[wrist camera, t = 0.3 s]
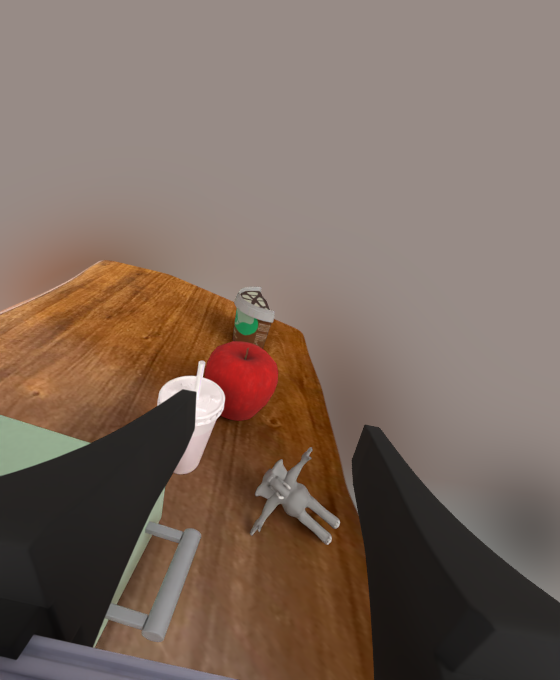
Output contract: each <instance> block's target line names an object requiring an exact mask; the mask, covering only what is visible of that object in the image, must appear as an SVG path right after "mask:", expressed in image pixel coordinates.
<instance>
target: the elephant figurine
mask: <svg viewBox="0 0 560 680" xmlns="http://www.w3.org/2000/svg"><path fill="white" fill-rule="evenodd" d="M311 451H312V448H309V449H308V451H306V452H305V453H304V454H303V455H302V459H301V461H300V462H299V463H298V464H297V465H296V466H294V467H293V468H292V469H291V470H290V471H288V472H287V471H286V469H285V467H284V466H283V461H282V459H281V460H279V461H278V462H276V464H275V465H274V467H273V468H272V469H269V470H268V471H267V472H266V473H265V475H264V477H263V481H262V483H261V484H260V485H259V487H258V488H257V490H256V492H255V496H262V497H265V498H267V502H266V504H265V506H264V509H263V511H262V514H261V516H260V517H259V519H257V520H256V521H255V523H254V526H253V528H252V529H251V531H250V535H253V534H254V532H255V531H256V530H257V529H258V531H259V532H260V530H261V527H262V525H263V523H264V521H265V520H266V518H267V517H268V516H269V515H270V514H271V513H272V512H273V510H274V509H275V508H276V506H277V505H279V504H282V506H283V508H284V510H285V512H286V513H287V514H288V515H290V516H293V517H296V518H298V520H299V521H300V522H302V523H303V524H304V525H305V526H307V527H308V528H309V529H310V530H312V531H313V532H314V533H315V534H316V535H317V536H318V537H319V538H320V539H321V540H322V541H323V542H324V543H325V544H327V545H328V544H329V543H330V542H331V539H332V537H331V534H330V533H329V532H327V531H326V530H325V529H324V528H323V527H322V526H320V525H319V524H318V523H317V522H316V521H315V520H314V519H313V518H312V517H311V516H310V515H309V514H308V513H307V512H306V511H305V508H306V507H309V508H310V509H311V510H313V511H314V512H315V513H316V514H318V515H319V516H320V517H321V518H322V519H323V520H325V521H326V522H327V523H328V524H329V525H330V526H331V527H332V528H334V529H336V528H337V527H339V524H340V521H339V519H338V518H337V517H336V516H334V515H333V514H332V513H330V512H329V511H327V510H326V509H325V508H324V507H323V506H322V505H321V504H319V503H318V502H317V501H316V500H315V499H314V498H313V497H312V496H310V494H309V492H308V490H307V488H306V487H305V486H304V485H302V484H300V483H297V482H296V479H297V477H298V475H299V473H300V471H301V469H302V467H303V465H304V464H305V463H306V462H307V461H308V460H310V459H311V457H309V454H310V453H311Z"/></svg>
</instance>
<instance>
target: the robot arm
mask: <svg viewBox="0 0 560 680" xmlns="http://www.w3.org/2000/svg"><path fill="white" fill-rule="evenodd" d="M196 395H197V392H195V391H190V390H185V389H182V390H181V391H179V392H177V393H176V394H174V395H173V396H171V397H170V398H168V399H167V400H165V401H164V402H163V403H161V404H160V405H158V406H157V407H155V408H153V409H152V410H150V411H149V412H147V413H146V414H144V415H142V416H141V417H139V418H138V419H136V420H134V421H132V422H131V423H129V424H127V425H125V426H124V427H122V428H120V429H118V430H117V431H115V432H113V433H111V434H109V435H107V436H105V437H103V438H101V439H99V440H96V441H94V442H92V443H90V444H88V445H85V446H83V447H81V448H78V449H76V450H73V451H71V452H69V453H66V454H64V455H61V456H59V457H56V458H53V459H51V460H48V461H45V462H42V463H40V464H37V465H34V466H31V467H28V468H25V469H22V470H19V471H15V472H12V473H9V474H5V475H2V476H0V680H238V679H233V678H228V677H224V676H219V675H215V674H210V673H206V672H201V671H197V670H192V669H188V668H183V667H178V666H174V665H169V664H165V663H160V662H156V661H151V660H147V659H142V658H138V657H133V656H128V655H124V654H119V653H115V652H110V651H106V650H101V649H97V648H93V646H94V644H95V641H96V639H97V636H98V634H99V631H100V629H101V626H102V624H103V621H104V619H105V616H106V614H107V611H108V609H109V606H110V604H111V601H112V599H113V597H114V594H115V592H116V590H117V587H118V585H119V583H120V580H121V578H122V575H123V573H124V571H125V568H126V566H127V564H128V562H129V559H130V557H131V555H132V553H133V550H134V548H135V546H136V544H137V541H138V539H139V537H140V535H141V533H142V530H143V528H144V526H145V524H146V522H147V520H148V517H149V515H150V513H151V511H152V509H153V507H154V505H155V503H156V502H157V500H158V498H159V496H160V495H161V493H162V491H163V489H164V488H165V486H166V484H167V482H168V481H169V479H170V477H171V476H172V474H173V472H174V470H175V469H176V467H177V465H178V463H179V462H180V460H181V458H182V456H183V455H184V453H185V451H186V449H187V447H188V444H189V442H190V440H191V437H192V435H193V432H194V430H195V416H196ZM352 475H353V486H354V492H355V497H356V502H357V508H358V514H359V519H360V524H361V530H362V535H363V540H364V547H365V553H366V563H367V573H368V584H369V597H370V610H371V624H372V642H373V660H374V680H560V603H559V602H558V601H557V600H555V599H554V598H553V597H551V596H550V595H548V594H547V593H546V592H544V591H543V590H542V589H540V588H539V587H537V586H536V585H535V584H534V583H532V582H531V581H529V580H528V579H527V578H525V577H524V576H523V575H522V574H520V573H519V572H518V571H517V570H515V569H514V568H513V567H512V566H510V565H509V564H508V563H506V562H505V561H504V560H503V559H502V558H500V557H499V556H498V555H497V554H496V553H494V552H493V551H492V550H491V549H490V548H488V547H487V546H486V545H485V544H484V543H483V542H482V541H480V540H479V539H478V538H477V537H476V536H475V535H474V534H473V533H472V532H470V531H469V530H468V529H467V528H466V527H465V526H464V525H463V524H462V523H461V522H460V521H459V520H458V519H456V518H455V516H454V515H453V514H452V513H450V511H448V509H447V508H446V507H445V506H444V505H443V504H442V503H440V502H439V500H438V499H437V498H436V497H435V496H434V495H433V494H432V493H431V492H430V491H429V489H428V488H427V487H426V486H425V485H424V484H423V482H422V481H421V480H420V479H419V478H418V477H417V476H416V474H415V473H414V472H413V471H412V469H411V468H410V467H409V466H408V464H407V463H406V462H405V461H404V459H403V458H402V457H401V455H400V454H399V453H398V452H397V450H396V449H395V448H394V446H393V445H392V444H391V442H390V441H389V440H388V438H387V437H386V436H385V434H384V433H383V432H382V430H381V429H380V428H379V427H374V426H369V425H364V428H363V431H362V433H361V436H360V439H359V442H358V444H357V447H356V450H355V453H354V455H353V458H352Z"/></svg>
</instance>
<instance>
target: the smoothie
mask: <svg viewBox="0 0 560 680" xmlns="http://www.w3.org/2000/svg"><path fill="white" fill-rule="evenodd" d="M204 367H205V362H204V361H199V365H198V371H197V376H183V377H178V378H175V379H173V380H171V381H169V382H167V383H166V384H165V385H164V386H163V387H162V388H161V390H160V392H159V398H158V405H160V404H161V403H163V402H164V401H165V400H167V399H168V398H170V397H171V396H173V395H174V394H176V393H177V392H179V391H181V390H182V389H185V390H190V391H195V392H197V395H196V416H195V430H194V432H193V435H192V437H191V440H190V442H189V444H188V447H187V449H186V451H185V453H184V455H183V456H182V458H181V460H180V462H179V463H178V465H177V467H176V469H175V470H174V472H173V473H176V474H186V473H189V472H191V471H193V470H194V469H195V468H196V467H197V466H198V464H199V461H200V459H201V456H202V454H203V451H204V449H205V446H206V444H207V442H208V439H209V437H210V434H211V432H212V429H213V427H214V424H215V422H216V419H217V418H218V417H219V416H220V415H221V413H222V412H223V410H224V403H225V395H224V392H223V390H222V389H221V388H220V387H219V386H218V385H217V384H216V383H215V382H213V381H211V380H209V379H206V378H203V373H204ZM158 405H157V406H158Z"/></svg>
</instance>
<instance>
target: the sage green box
mask: <svg viewBox="0 0 560 680" xmlns="http://www.w3.org/2000/svg"><path fill="white" fill-rule="evenodd" d="M88 444H90V443H89V442H85V441H82V440H79V439H76V438H73V437H69V436H66V435H63V434H60V433H57V432H53V431H50V430H47V429H44V428H41V427H37V426H34V425H31V424H28V423H25V422H21V421H18V420H15V419H12V418H9V417H5V416H2V415H0V476H2V475H5V474H9V473H12V472H15V471H19V470H22V469H25V468H28V467H31V466H34V465H37V464H40V463H42V462H45V461H48V460H51V459H53V458H56V457H59V456H61V455H64V454H66V453H69V452H71V451H73V450H76V449H78V448H81V447H83V446H85V445H88Z"/></svg>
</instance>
